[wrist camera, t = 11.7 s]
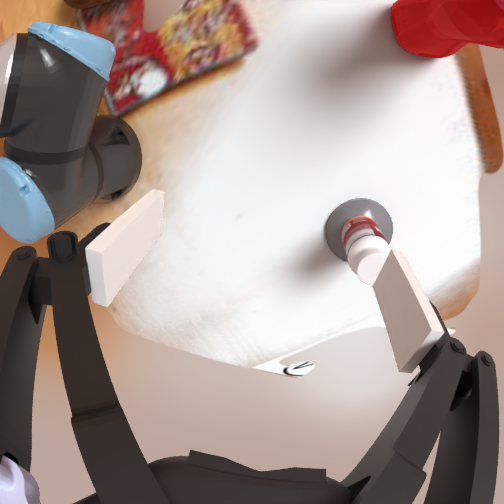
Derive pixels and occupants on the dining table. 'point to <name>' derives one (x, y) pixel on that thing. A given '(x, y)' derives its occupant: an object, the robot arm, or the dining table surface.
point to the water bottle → (447, 25)
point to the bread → (85, 3)
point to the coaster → (352, 210)
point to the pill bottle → (365, 248)
